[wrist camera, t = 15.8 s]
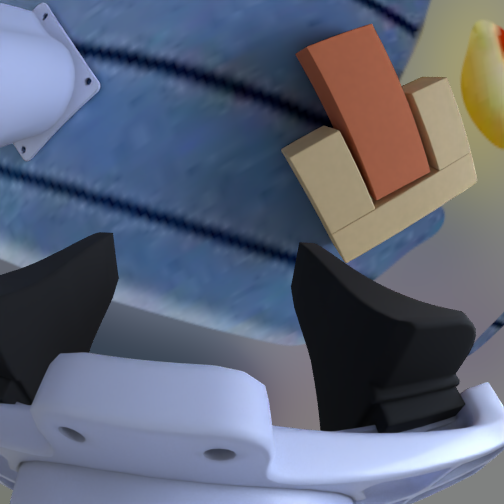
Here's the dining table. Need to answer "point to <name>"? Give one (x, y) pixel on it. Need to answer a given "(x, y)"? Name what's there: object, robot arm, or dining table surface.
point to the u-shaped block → (399, 201)
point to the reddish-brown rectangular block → (367, 108)
